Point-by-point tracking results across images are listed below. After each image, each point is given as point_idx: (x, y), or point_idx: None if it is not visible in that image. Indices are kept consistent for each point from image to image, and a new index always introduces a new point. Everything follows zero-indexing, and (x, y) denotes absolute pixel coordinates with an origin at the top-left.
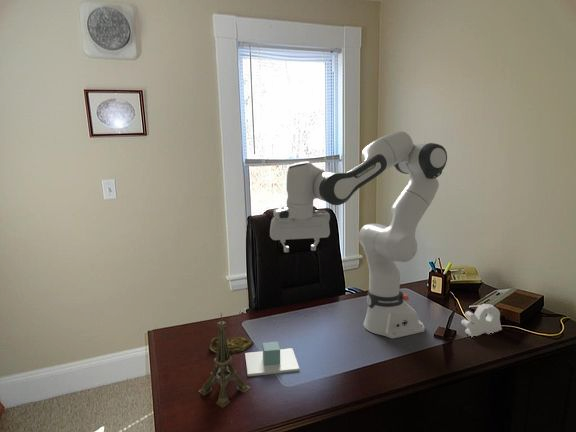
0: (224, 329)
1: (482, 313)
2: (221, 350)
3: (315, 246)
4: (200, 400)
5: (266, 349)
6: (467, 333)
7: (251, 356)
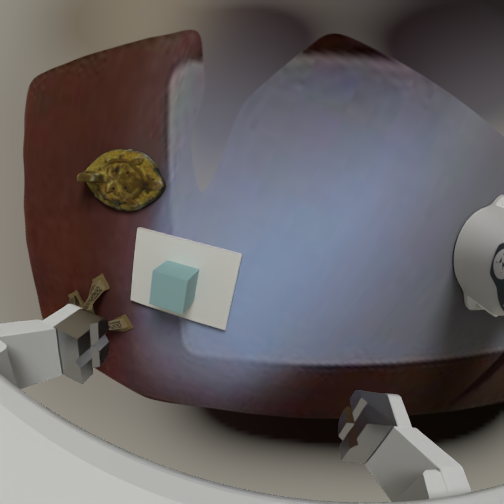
0: None
1: None
2: None
3: (374, 460)
4: None
5: (154, 299)
6: None
7: (146, 247)
